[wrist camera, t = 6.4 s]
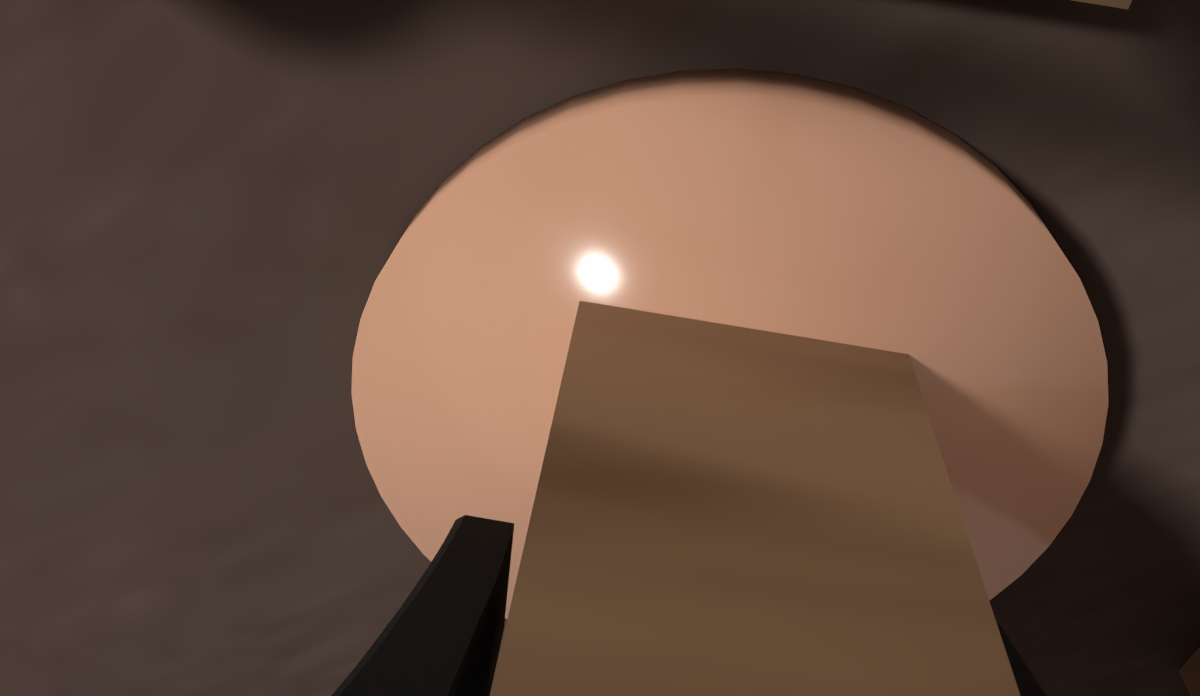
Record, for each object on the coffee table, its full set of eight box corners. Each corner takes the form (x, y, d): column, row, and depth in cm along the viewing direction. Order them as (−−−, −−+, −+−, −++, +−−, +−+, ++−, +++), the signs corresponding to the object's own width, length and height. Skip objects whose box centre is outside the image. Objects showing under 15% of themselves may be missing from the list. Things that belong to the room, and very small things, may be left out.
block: (818, 573, 14) (877, 1004, 10) (549, 529, 14) (469, 933, 10) (908, 354, 12) (1050, 789, 7) (579, 301, 12) (490, 696, 7)
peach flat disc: (930, 673, 17) (941, 720, 16) (379, 578, 17) (362, 619, 16) (1241, 146, 11) (1283, 180, 10) (361, 3, 11) (333, 24, 10)
